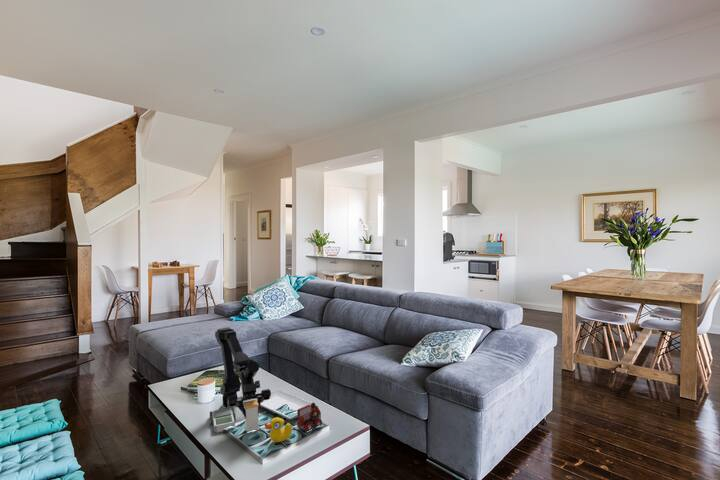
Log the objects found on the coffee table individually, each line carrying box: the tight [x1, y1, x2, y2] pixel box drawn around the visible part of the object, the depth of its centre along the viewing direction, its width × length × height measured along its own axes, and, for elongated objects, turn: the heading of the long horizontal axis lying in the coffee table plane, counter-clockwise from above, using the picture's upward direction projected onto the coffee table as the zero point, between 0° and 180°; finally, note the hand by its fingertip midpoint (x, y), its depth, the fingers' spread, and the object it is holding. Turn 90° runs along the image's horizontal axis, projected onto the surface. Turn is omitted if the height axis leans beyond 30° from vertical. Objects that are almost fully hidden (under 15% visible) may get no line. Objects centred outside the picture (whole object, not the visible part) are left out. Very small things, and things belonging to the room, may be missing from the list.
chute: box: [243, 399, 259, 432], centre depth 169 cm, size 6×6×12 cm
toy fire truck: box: [296, 402, 323, 433], centre depth 170 cm, size 7×12×10 cm, turn 135°
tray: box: [252, 388, 312, 420], centre depth 190 cm, size 17×31×4 cm, turn 49°
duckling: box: [264, 417, 293, 443], centre depth 159 cm, size 11×5×10 cm, turn 115°
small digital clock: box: [209, 406, 237, 434], centre depth 176 cm, size 11×17×3 cm, turn 24°
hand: (251, 416), depth 167 cm, fingers closed on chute, 5 cm apart
